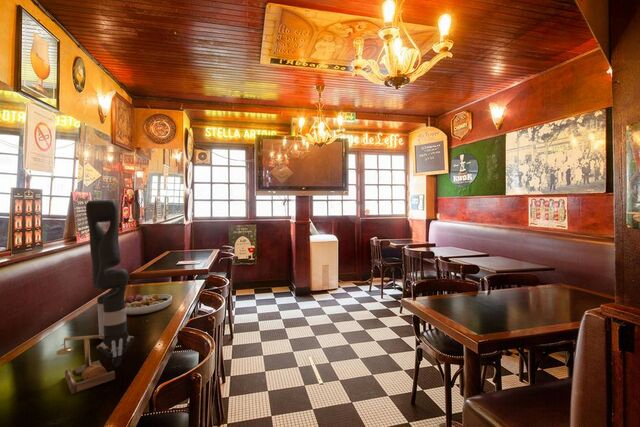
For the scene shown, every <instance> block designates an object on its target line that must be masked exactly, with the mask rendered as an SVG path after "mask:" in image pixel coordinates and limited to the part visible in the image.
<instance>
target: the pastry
mask: <svg viewBox="0 0 640 427" xmlns="http://www.w3.org/2000/svg"><path fill="white" fill-rule="evenodd" d="M105 373H108V371H107V370H106V368H105V367H104V366H103V365H102V366H101V365H98V366H96V365H91V366H89V367H88V368H86V369H85V370H84V371H83V373H82V374H81V378H82V381H84V380H87V379H90V378H93V377H96V376H99V375H102V374H105Z"/></svg>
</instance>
